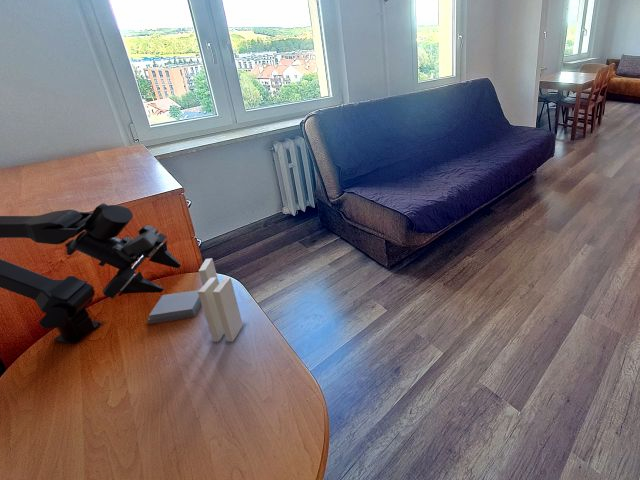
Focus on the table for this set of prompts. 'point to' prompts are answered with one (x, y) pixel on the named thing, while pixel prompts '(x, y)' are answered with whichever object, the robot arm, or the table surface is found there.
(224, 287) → the cream books
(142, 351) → the table surface
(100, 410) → the table surface
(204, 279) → the slim cream book
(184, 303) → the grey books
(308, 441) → the table surface
